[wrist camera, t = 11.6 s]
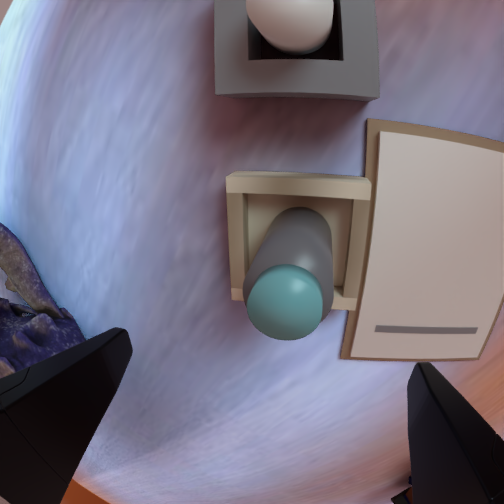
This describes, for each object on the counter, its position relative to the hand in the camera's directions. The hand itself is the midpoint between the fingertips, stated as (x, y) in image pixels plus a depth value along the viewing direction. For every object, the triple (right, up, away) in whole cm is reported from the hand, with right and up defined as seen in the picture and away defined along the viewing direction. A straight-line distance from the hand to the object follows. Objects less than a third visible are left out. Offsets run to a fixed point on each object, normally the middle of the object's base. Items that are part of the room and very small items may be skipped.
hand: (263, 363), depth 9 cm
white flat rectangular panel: (+11, +3, +7) cm, 14 cm away
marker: (+2, +4, +8) cm, 9 cm away
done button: (+2, +13, +3) cm, 14 cm away
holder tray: (+2, +4, +9) cm, 10 cm away
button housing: (+2, +14, +4) cm, 15 cm away
